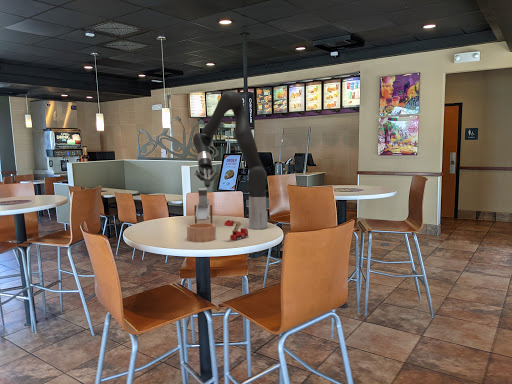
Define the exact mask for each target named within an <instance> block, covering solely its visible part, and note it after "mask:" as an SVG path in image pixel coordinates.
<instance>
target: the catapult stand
mask: <svg viewBox="0 0 512 384" xmlns="http://www.w3.org/2000/svg"><path fill="white" fill-rule="evenodd" d="M197 205H198V204H197ZM197 205H196V204H194V207H193V208H194V224H196V223H198V220H197V219H196V209H197ZM209 220H210V222H209V223H210V224H214V223H213V204H209Z"/></svg>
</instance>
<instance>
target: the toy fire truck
mask: <svg viewBox="0 0 512 384" xmlns="http://www.w3.org/2000/svg"><path fill="white" fill-rule="evenodd" d="M241 225H242V223H241V222H240V221H236V220H231V219H227V220H225V221H224V226H226V227H233V226H234V229H233V230H232V234H230V235H229V237H230V238H229V239H230V240H233V241H235V240H236V241H238V240H241V239H244V238H245V239H247V238H249V230H248V228H245V227H241ZM239 229H240V231H239Z"/></svg>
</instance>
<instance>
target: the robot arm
mask: <svg viewBox="0 0 512 384" xmlns="http://www.w3.org/2000/svg"><path fill="white" fill-rule="evenodd" d="M242 97H243V96H241V94H240V93H239V92H237V91H231V92H230V91H228V92H224V93H223V94H222V95H221V97H220V98H219V100H218V102H217V105H216V106H215V108H214V111H213V113H212V114H211V117H210V118H209V120H208V121H207V122H206V123H205V125H204V127H203V129H202V132H203V133H202V132H201V133H200V132H196V133H195V134H194V135H193V138H192V143H193V146H194V147H195V149H196V152H197V164H198V165H197V166H198V169H196V170H195V171H194V175H195V176H196V178H198V179H199V180H200V181H201V182H203V183H204V186H205V188H209V187H210V186H211V182H213V181H214V180H215V178H217V176H218V172H215V170H214V169H213V161H212V160H213V159H212V156H211V150H210V146H211V145H212V141H213V138H214V136H215V134H216V133H217V132H218V130H219V128H220V127H221V126H222V120H223V117H224V116H225V114H227V113H228V111H232V112H233V116H234V119H235V124H234V125H235V127H234V136H235V140H236V142H237V146H238V148H239V149H240V152H241V153H242V155H243V158H244V159H245V161H246V164H247V167H248V171H249V172H248V174H247V190H248V228H249V229H252V230H264V229H266V228H267V229H268V210H267V190H266V179H267V171H266V169H265V168H264V165H263V164H262V161H261V159H260V155H259V152H258V148H257V145H256V144H257V143H256V141H255V137H254V135H253V132H252V129H251V125H250V123H249V120H248V117H247V114H246V110H245V105H244V101H243V98H242Z"/></svg>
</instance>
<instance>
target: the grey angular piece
mask: <svg viewBox="0 0 512 384" xmlns="http://www.w3.org/2000/svg"><path fill="white" fill-rule="evenodd" d="M196 219H197V221H208V219H209V220H210V199H209V198H208V187H203V188H202V187H201V188H200V187H198V203H197V209H196Z"/></svg>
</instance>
